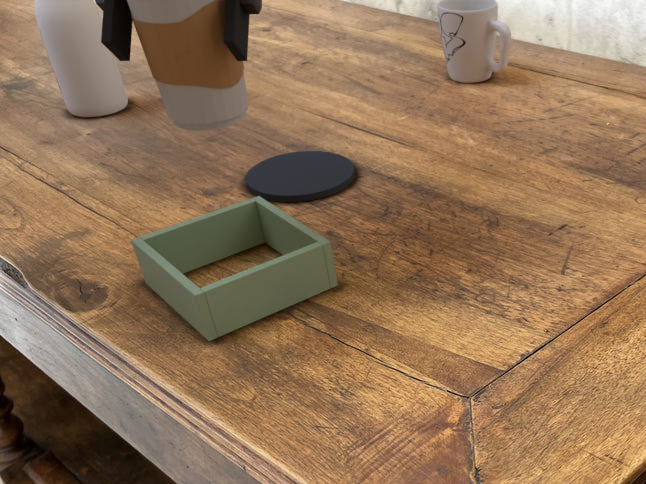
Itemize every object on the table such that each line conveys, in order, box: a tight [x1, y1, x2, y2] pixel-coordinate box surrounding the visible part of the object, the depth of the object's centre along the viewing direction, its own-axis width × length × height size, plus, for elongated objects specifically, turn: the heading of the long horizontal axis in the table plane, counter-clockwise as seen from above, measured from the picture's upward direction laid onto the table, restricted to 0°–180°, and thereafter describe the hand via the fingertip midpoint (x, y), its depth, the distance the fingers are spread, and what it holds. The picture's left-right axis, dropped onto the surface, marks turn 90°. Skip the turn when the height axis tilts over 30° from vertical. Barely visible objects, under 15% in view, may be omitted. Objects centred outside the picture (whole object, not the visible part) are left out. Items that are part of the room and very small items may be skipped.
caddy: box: [130, 196, 339, 342], centre depth 71 cm, size 13×13×4 cm
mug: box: [436, 0, 512, 84], centre depth 113 cm, size 11×8×10 cm
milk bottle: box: [34, 0, 129, 118], centre depth 102 cm, size 8×8×20 cm
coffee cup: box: [127, 0, 250, 132], centre depth 61 cm, size 8×8×15 cm
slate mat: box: [245, 150, 356, 203], centre depth 90 cm, size 12×12×1 cm
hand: (175, 51), depth 59 cm, fingers closed on coffee cup, 8 cm apart
